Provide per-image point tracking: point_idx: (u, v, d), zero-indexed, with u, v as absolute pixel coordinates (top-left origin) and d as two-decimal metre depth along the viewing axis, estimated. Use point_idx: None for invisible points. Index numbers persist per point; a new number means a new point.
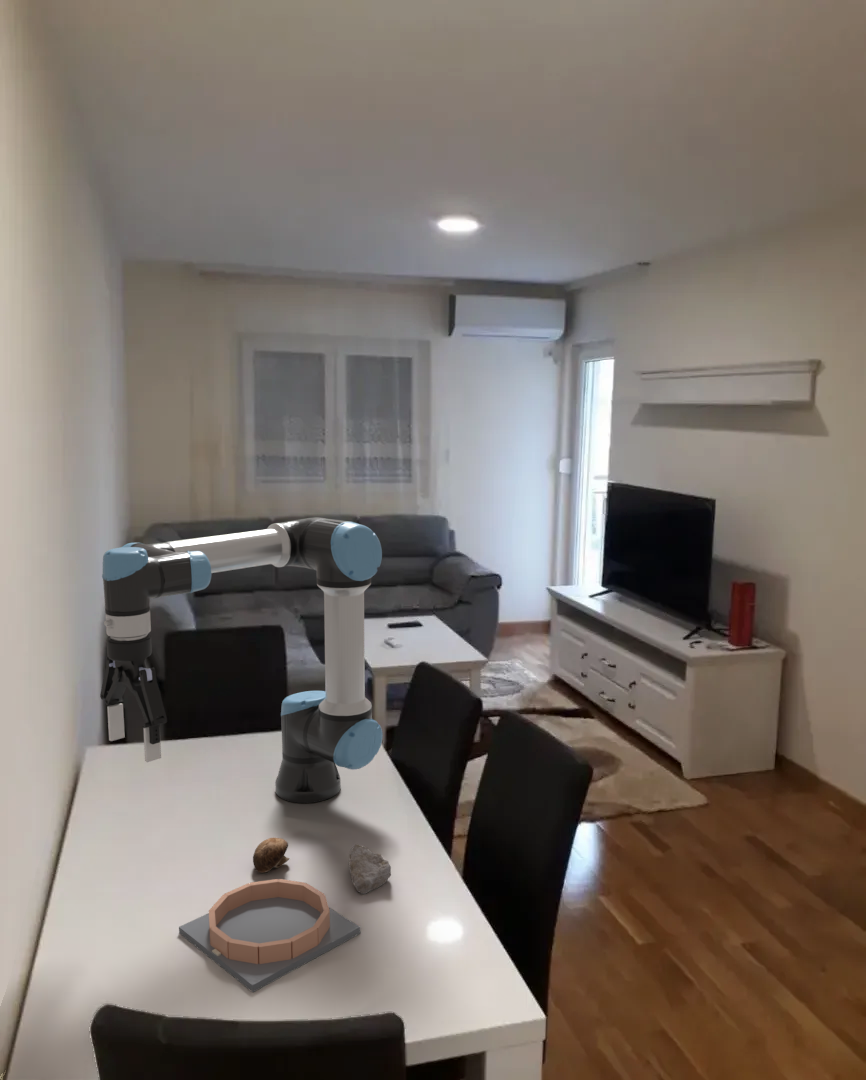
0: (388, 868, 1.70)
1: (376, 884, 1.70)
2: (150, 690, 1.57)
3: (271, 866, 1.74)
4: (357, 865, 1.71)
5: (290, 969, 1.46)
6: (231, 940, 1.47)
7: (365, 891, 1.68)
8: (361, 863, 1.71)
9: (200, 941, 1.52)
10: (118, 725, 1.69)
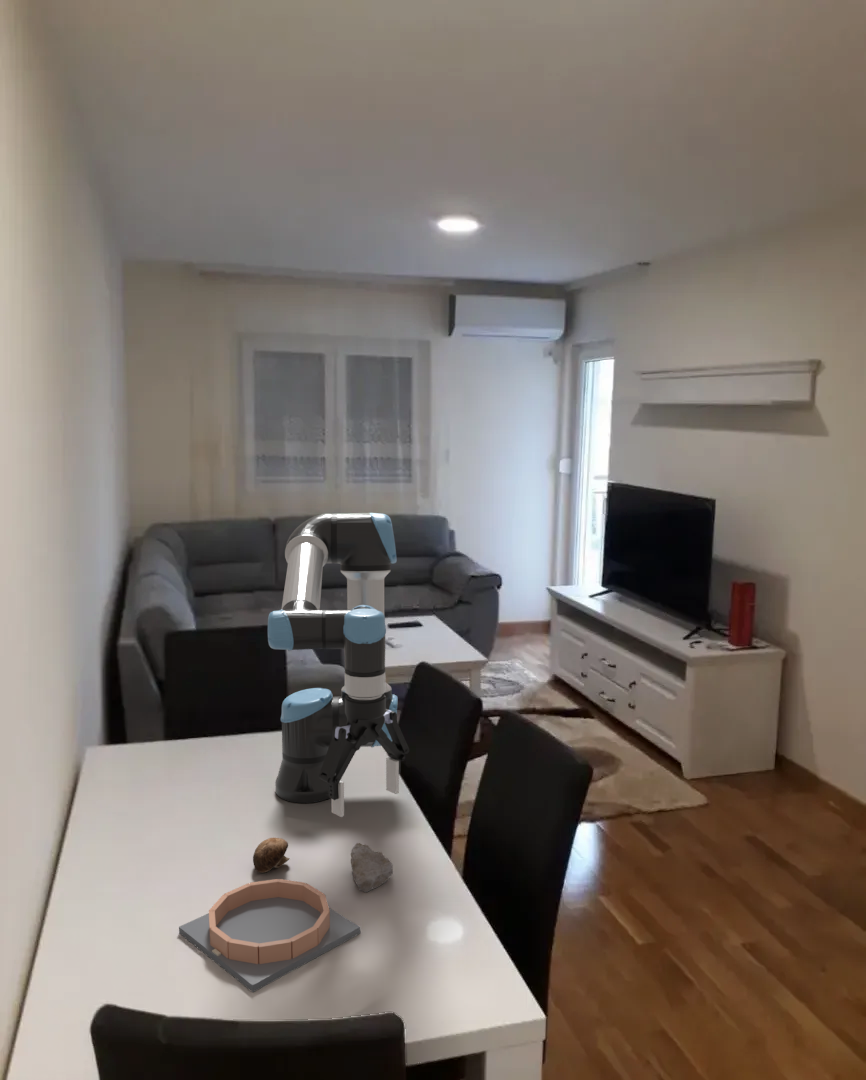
0: (390, 866, 1.71)
1: (378, 882, 1.70)
2: (331, 747, 1.63)
3: (271, 866, 1.74)
4: (359, 864, 1.71)
5: (290, 969, 1.46)
6: (231, 940, 1.47)
7: (367, 889, 1.69)
8: (363, 862, 1.71)
9: (200, 941, 1.52)
10: (392, 779, 1.74)
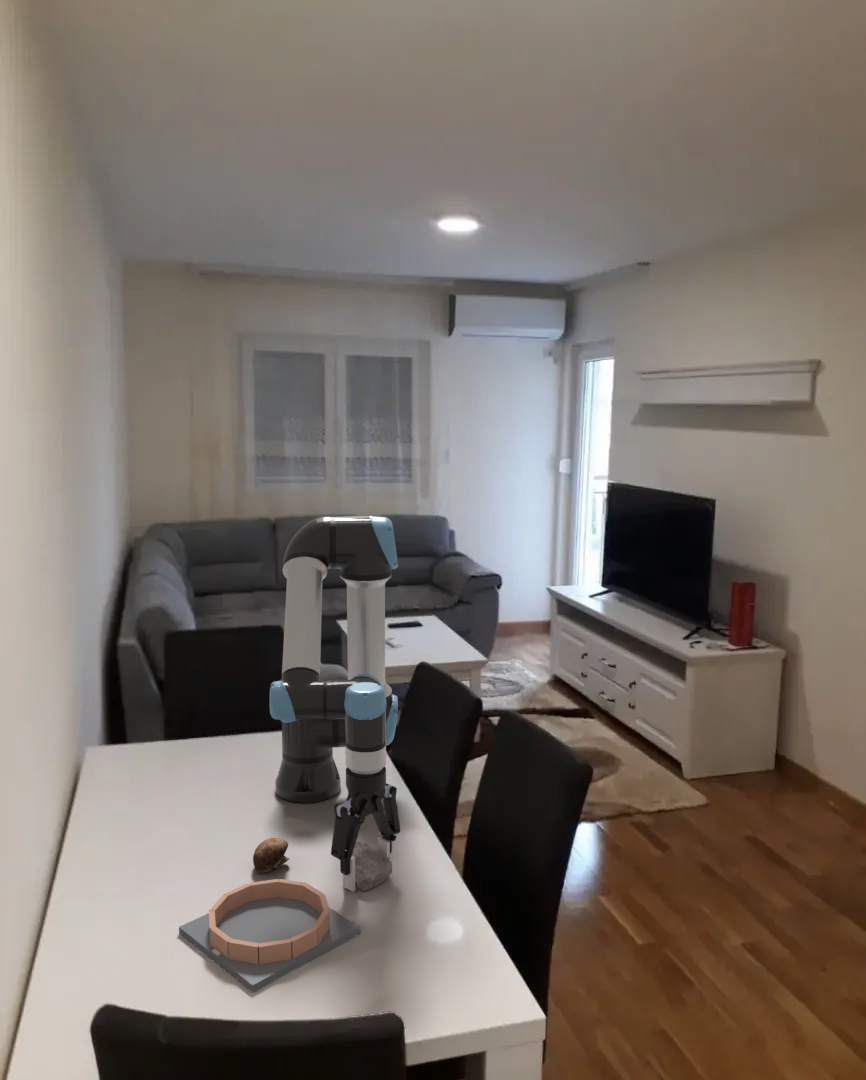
0: (389, 865, 1.71)
1: (378, 881, 1.71)
2: (337, 825, 1.67)
3: (271, 866, 1.74)
4: (359, 862, 1.71)
5: (290, 969, 1.46)
6: (231, 940, 1.47)
7: (366, 888, 1.69)
8: (362, 860, 1.71)
9: (200, 941, 1.52)
10: None
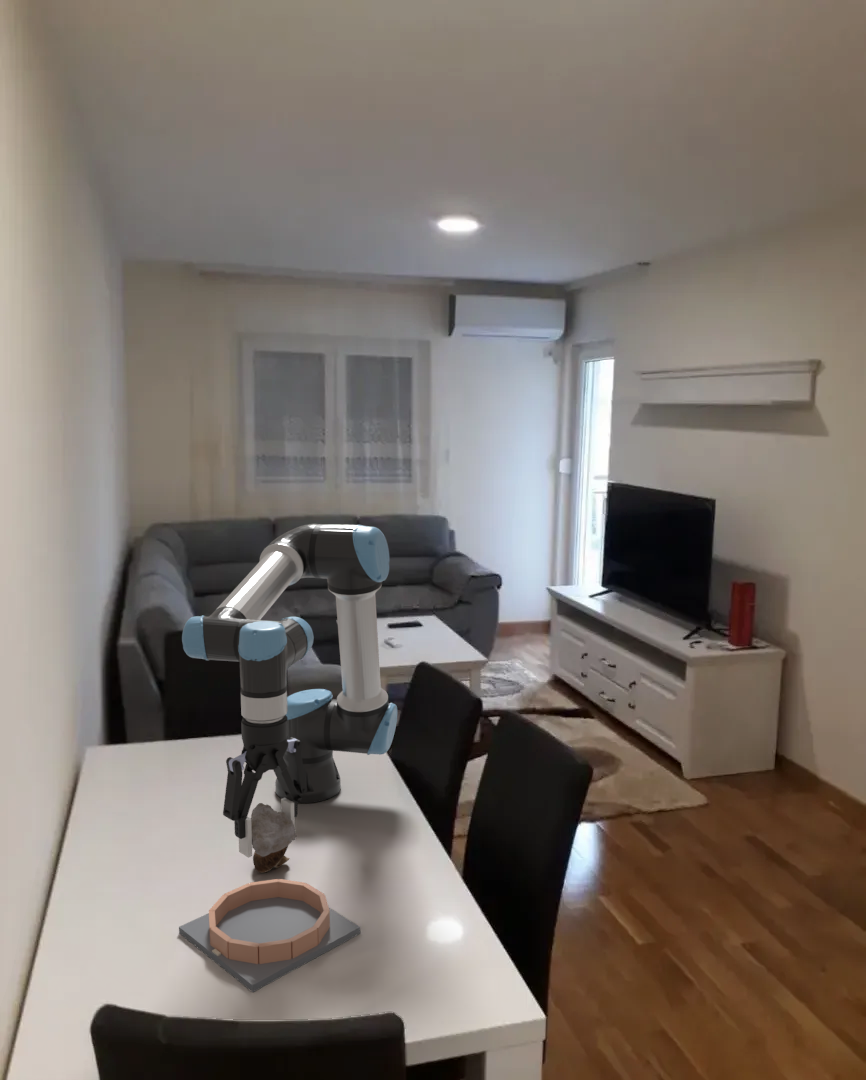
0: (291, 828, 1.51)
1: (278, 846, 1.51)
2: (229, 781, 1.47)
3: (271, 866, 1.74)
4: (257, 825, 1.52)
5: (290, 969, 1.46)
6: (231, 940, 1.47)
7: (264, 853, 1.49)
8: (261, 823, 1.52)
9: (200, 941, 1.52)
10: None
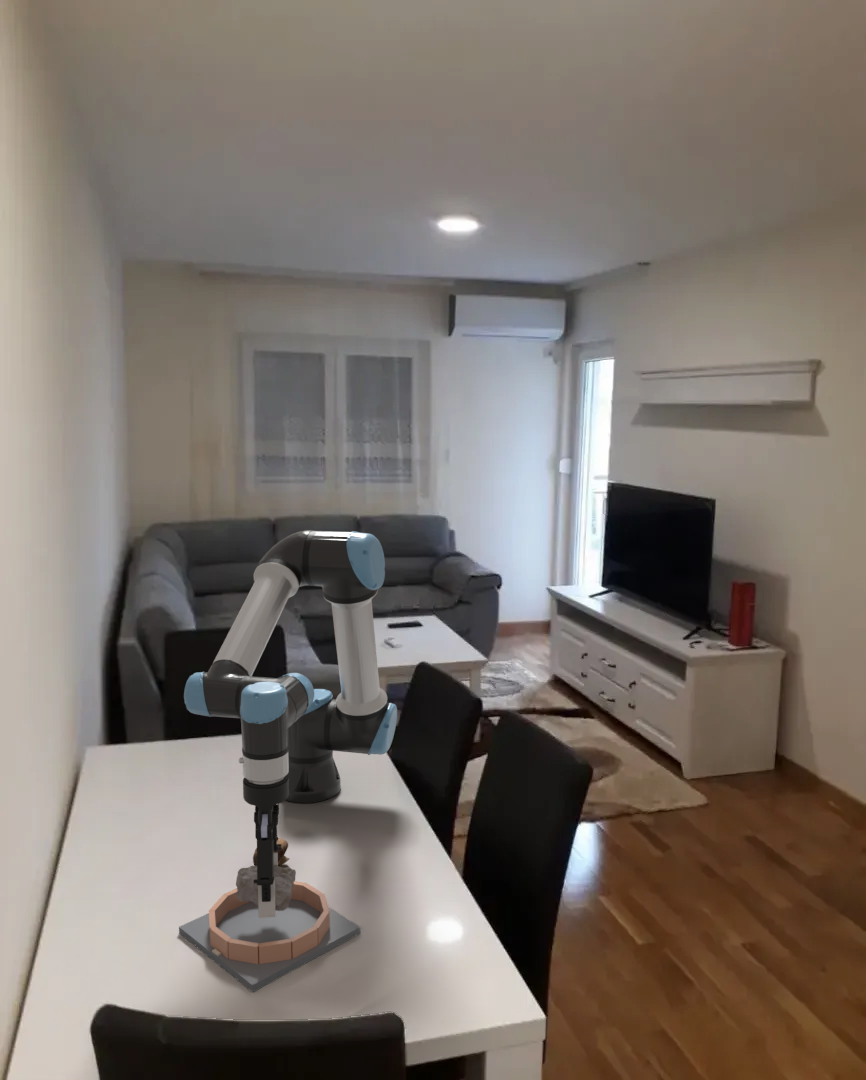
0: (295, 873, 1.57)
1: None
2: (261, 849, 1.47)
3: None
4: None
5: (290, 969, 1.46)
6: (231, 940, 1.47)
7: (287, 906, 1.53)
8: None
9: (200, 941, 1.52)
10: None
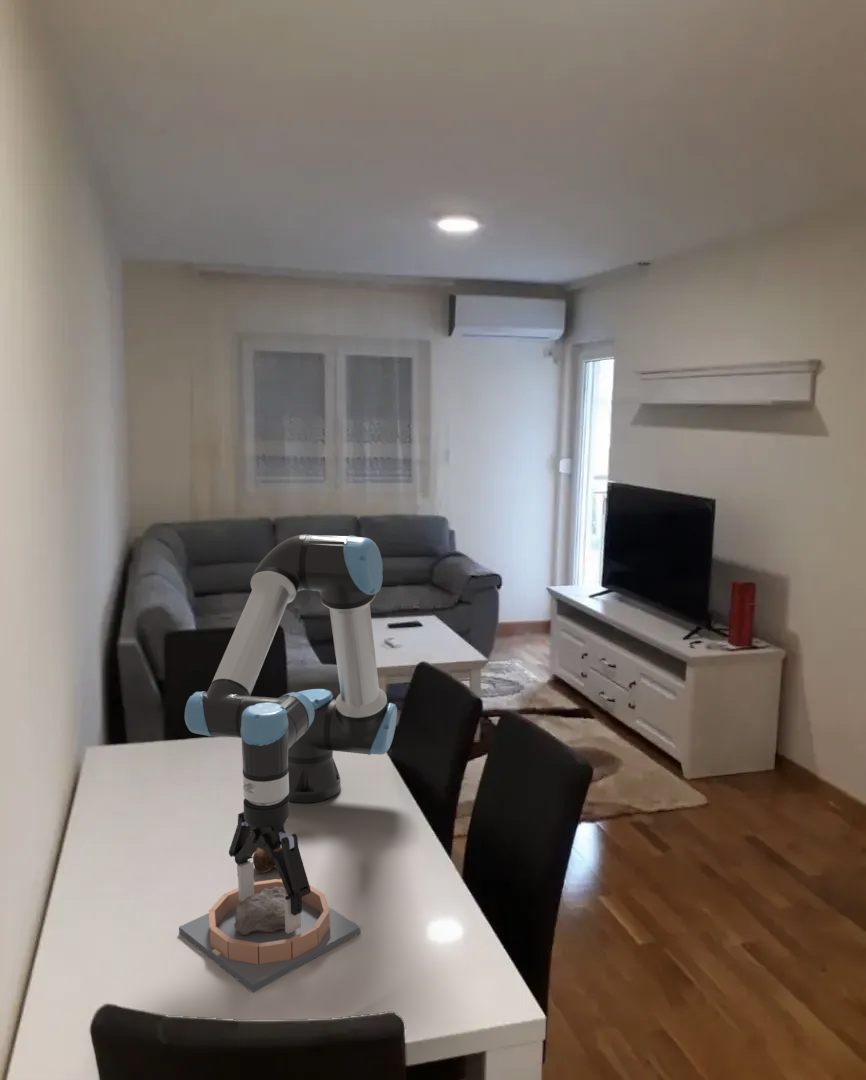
0: None
1: None
2: (292, 860, 1.48)
3: (271, 866, 1.74)
4: (275, 907, 1.54)
5: (290, 969, 1.46)
6: (231, 940, 1.47)
7: None
8: (275, 903, 1.55)
9: (200, 941, 1.52)
10: (248, 884, 1.60)
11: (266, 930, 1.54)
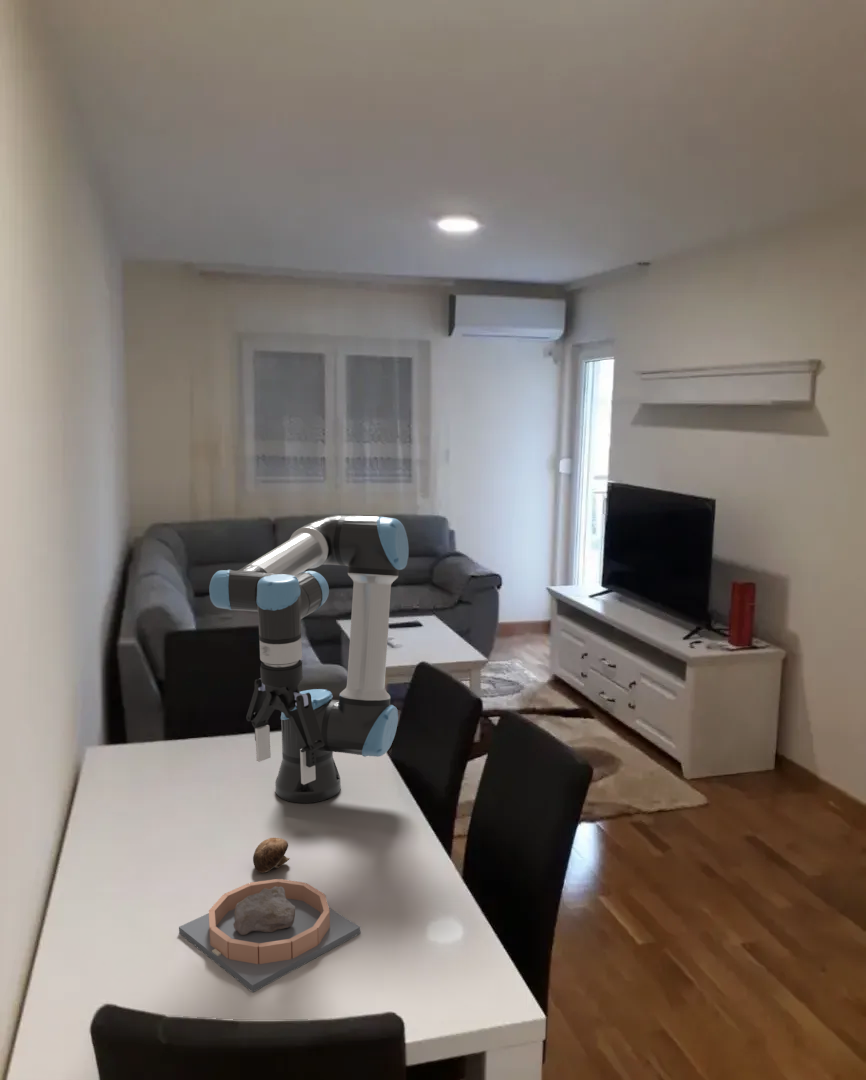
0: None
1: None
2: (307, 716, 1.60)
3: (271, 866, 1.74)
4: (274, 907, 1.54)
5: (290, 969, 1.46)
6: (231, 940, 1.47)
7: (293, 920, 1.57)
8: (274, 903, 1.55)
9: (200, 941, 1.52)
10: (265, 746, 1.73)
11: (265, 930, 1.54)
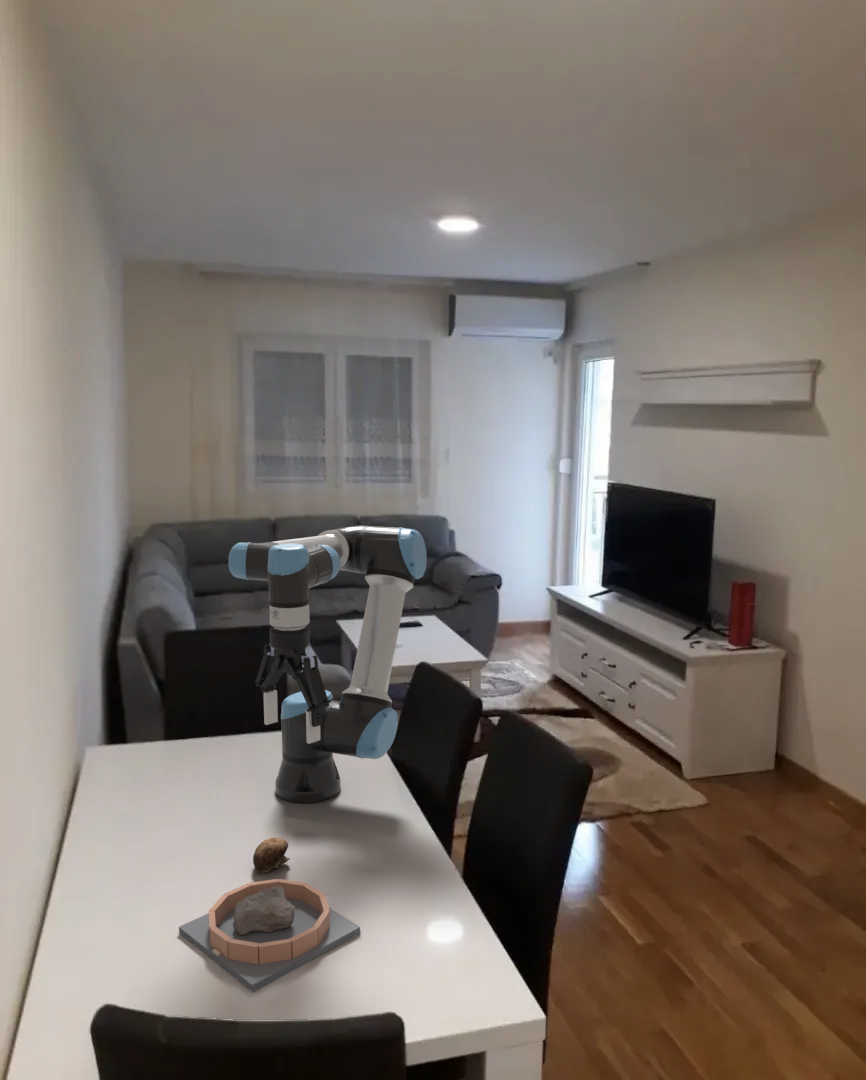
0: None
1: None
2: (313, 677, 1.69)
3: (271, 866, 1.74)
4: (274, 906, 1.54)
5: (290, 969, 1.46)
6: (231, 940, 1.47)
7: None
8: (273, 903, 1.55)
9: (200, 941, 1.52)
10: (272, 710, 1.81)
11: (265, 930, 1.54)
